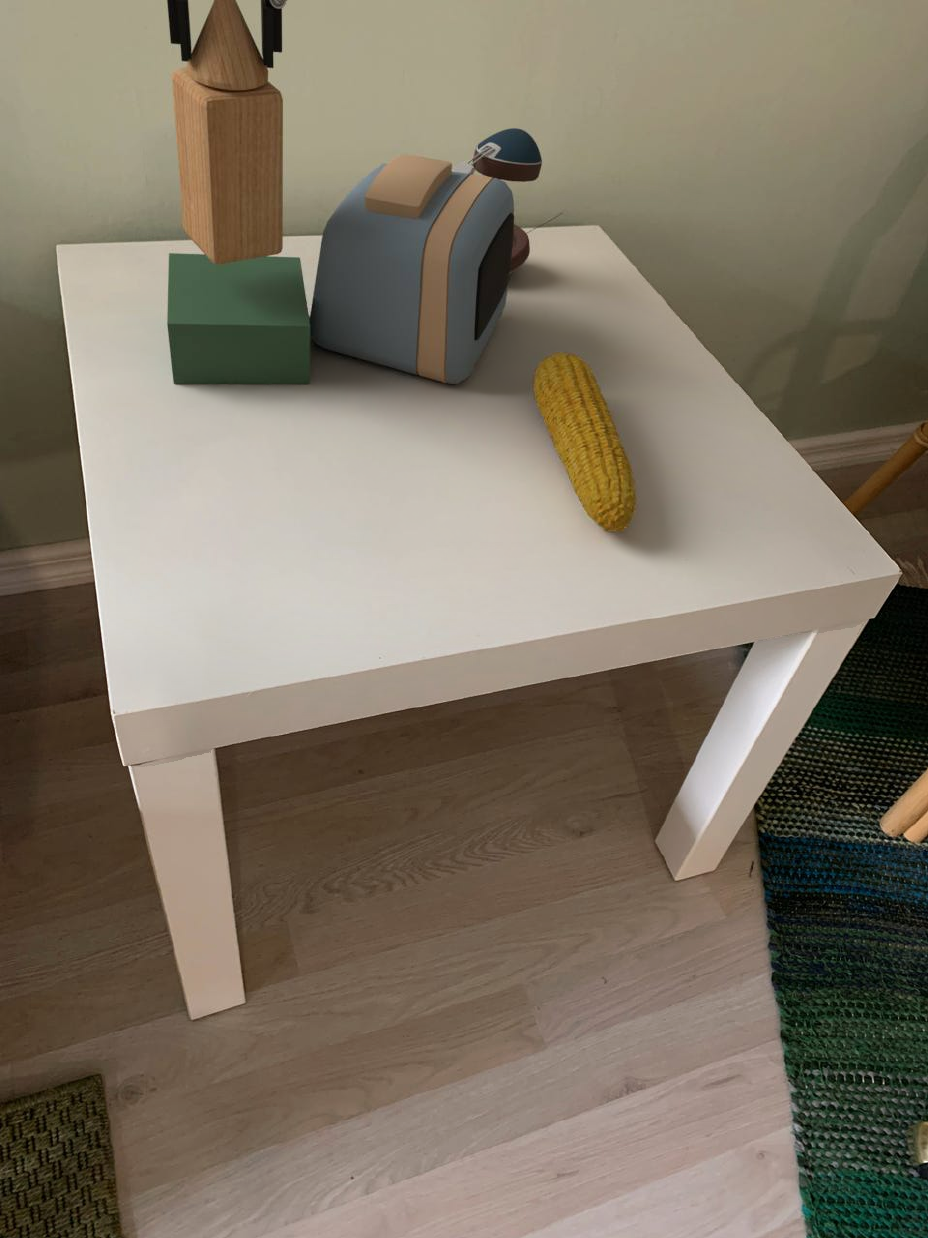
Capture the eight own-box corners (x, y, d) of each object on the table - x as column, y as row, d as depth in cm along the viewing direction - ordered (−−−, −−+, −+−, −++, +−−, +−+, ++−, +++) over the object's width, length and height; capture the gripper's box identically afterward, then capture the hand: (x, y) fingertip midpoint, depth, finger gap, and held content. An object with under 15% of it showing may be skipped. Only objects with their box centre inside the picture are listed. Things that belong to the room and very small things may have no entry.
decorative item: (285, 255, 82) (286, -10, 68) (213, 268, 79) (198, -7, 65) (251, 221, 86) (245, -40, 71) (180, 232, 83) (159, -38, 68)
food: (520, 396, 91) (532, 341, 86) (576, 395, 92) (590, 341, 88) (586, 550, 77) (604, 494, 73) (650, 546, 79) (671, 491, 74)
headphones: (538, 225, 113) (403, 295, 102) (557, 92, 101) (406, 156, 90) (578, 248, 110) (444, 322, 100) (602, 114, 98) (452, 183, 88)
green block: (173, 383, 85) (167, 323, 80) (174, 311, 92) (168, 252, 88) (309, 384, 87) (310, 325, 83) (299, 313, 95) (300, 256, 91)
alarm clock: (463, 397, 89) (489, 234, 78) (301, 351, 91) (302, 184, 79) (506, 314, 100) (535, 161, 89) (360, 274, 102) (369, 118, 90)
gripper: (346, -255, 63) (336, 49, 76) (69, -297, 59) (110, 31, 72) (359, -236, 58) (346, 85, 71) (59, -281, 54) (104, 67, 67)
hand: (227, 55), depth 72 cm, fingers closed on decorative item, 5 cm apart
